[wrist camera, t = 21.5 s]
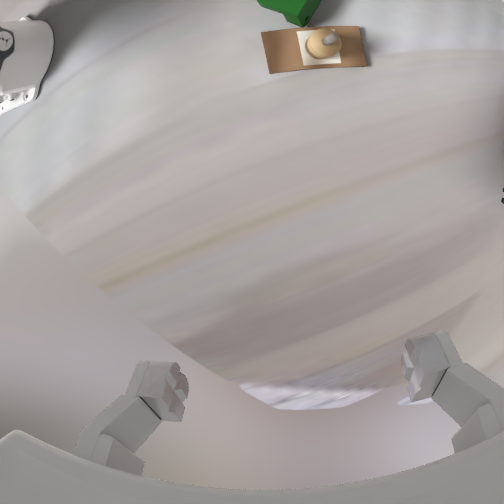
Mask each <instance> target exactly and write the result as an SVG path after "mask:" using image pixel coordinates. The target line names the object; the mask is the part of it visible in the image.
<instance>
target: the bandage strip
mask: <svg viewBox="0 0 504 504" xmlns="http://www.w3.org/2000/svg"><path fill="white" fill-rule="evenodd" d="M321 28H327V29H331V30H333V31H335V32H336V33H337V34H338V35H339V37H340V39H341V42H342V46H341V49H340V51H339V52H338V53H337V54H335V55H333V56H330V57H328V58H325V59H315V58H313V57H311V56H310V55H309V54H308V53H307V51H306V49H305V42H306V40H307V39H308V38H309V37H310V36H311V34H312V33H313V32H314V31H316V30H318V29H321ZM261 35H262V40H263V44H264V49H265V54H266V58H267V63H268V68H269V73H270V74H273V73H280V72H288V71H297V70H307V69H319V68H335V67H365V66H366V60H365V54H364V49H363V44H362V39H361V34H360V30H359V26H323V27H306V28H294V29H284V30H276V31H268V32H261Z"/></svg>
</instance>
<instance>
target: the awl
mask: <svg viewBox="0 0 504 504" xmlns="http://www.w3.org/2000/svg"><path fill="white" fill-rule="evenodd" d="M341 46H342V42H341V39H340V37H339V35H338V34H337V33H336V32H335V31H333V30H331V29H327V28H321V29H318V30H316V31H314V32H313V33H312V34H311V36H310V37H309V38H308V39H307V40H306V42H305V49H306V51H307V53H308V54H309V55H310V56H311V57H313V58H315V59H325V58H328V57H330V56H333V55H335V54H337V53H338V52H339V51H340V49H341Z"/></svg>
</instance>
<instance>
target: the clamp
mask: <svg viewBox="0 0 504 504" xmlns="http://www.w3.org/2000/svg"><path fill="white" fill-rule="evenodd" d="M257 1H258V3H259V4H260V5H261V6H262V7H264V8H267V9H271V10H274V11H276V12H279V13H282V14H284V16H285V18H286V20H287V22H290V23H292V24H295V25H298V26H300V27H302V28H303V27H305V26H306V24H307V23H308V21H309V20H310V18H311V16H312V15H313V13H314V12H315V10H316V8H317V7H318V5H319V4H320V2H321V0H257Z"/></svg>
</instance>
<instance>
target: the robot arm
mask: <svg viewBox="0 0 504 504" xmlns="http://www.w3.org/2000/svg"><path fill="white" fill-rule="evenodd" d="M53 45H54V39H53V33H52V30H51V28H50V26H49V25H48V24H47V23H46V22H44V21H41V20H36V21H33V20H31V19H30V18H29V17H22V18H21V19H20V20H19V21H7V22H0V115H2V114H4V113H6V112H8V111H10V110H12V109H15V108H17V107H19V106H22V105H24V104H27V103H29V102H31V101H34V100H35V99H36V97H37V95H38V91H39V87H40V83H41V80H42V78H43V76H44V75H45V73H46V71H47V69H48V66H49V64H50V61H51V57H52V53H53ZM405 347H406V351H405V352H404V353H403V354H402V358H401V369H402V374H403V377H404V378H405V379H406V380H408V381H409V383H408V386H407V390H408V393H409V397H410V400H411V402H415V401H419V400H423V399H426V398H430V397H432V399H433V400H434V401H435V402H436V403H437V404H438V405H439V406H440V407H441V408H442V409H443V410H444V411H445V412H446V413H448V414H449V415H450V416H451V417H452V418H453V419H454V420H455V421H456V422H457V423H458V424H459V425H460V426H461V428H460V429H459V431H458V432H457V433H456V434H455V435H454V436H453V438H452V443H453V447H454V451H455V454H453V455H451V456H448V457H445V458H443V459H440V460H437V461H434V462H432V463H429V464H426V465H422V466H420V467H416V468H413V469H409V470H406V471H402V472H399V473H395V474H391V475H387V476H383V477H379V478H374V479H369V480H364V481H359V482H353V483H347V484H340V485H333V486H325V487H316V488H305V489H287V490H240V489H223V488H212V487H202V486H194V485H186V484H180V483H174V482H168V481H163V480H158V479H153V478H149V477H144V476H142V471H143V467H144V463H145V462H144V461H143V459H142V458H140V457H138V456H137V455H136V454H134V453H135V452H136V451H137V449H138V448H139V447H140V446H141V445H142V444H143V443H144V442H145V440H146V439H147V438H148V437H149V436H150V435H151V434H152V433H153V431H154V430H155V429H156V428H157V427H158V426H159V424H160V423H161V422H162V421H175V422H182V418H183V414H184V409H185V407H184V405H183V403H182V402H183V401H184V400H185V399H186V398H187V396H188V391H189V390H188V388H189V387H188V381H187V378H186V376H185V375H184V374H182V373H181V372H179V371H180V367H179V365H178V364H177V363H172V362H151V361H140V362H138V363H137V365H136V367H135V370H134V372H133V375H132V378H131V380H130V382H129V385H128V388H127V390H126V393H125V395H121V396H120V397H119V398H117V399H116V400H115V401H114V402H113V403H112V404H111V405H109V406H108V407H107V408H106V409H104V410H103V411H102V412H101V413H100V414H98V415H97V416H96V417H95V418H94V419H92V420H91V421H90V422H89V423H88V424H87V425H86V426H84V427H83V429H82V431H81V434H80V436H79V439H78V442H77V444H76V448H75V450H74V453H73V454H70V453H67V452H65V451H63V450H60V449H58V448H56V447H53V446H51V445H49V444H47V443H45V442H42V441H40V440H38V439H36V438H34V437H32V436H30V435H28V434H26V433H25V432H22V431H20V430H14V431H12V432H10V433H9V434H7V435H6V436H4V437H3V438H1V439H0V504H504V388H502V387H501V386H500V385H498V384H497V383H495V382H494V381H492V380H491V379H489V378H488V377H486V376H485V375H484V374H482V373H481V372H479V371H478V370H476V369H475V368H473V367H472V366H470V365H469V364H467V363H464V364H463V362H462V360H461V358H460V356H459V354H458V352H457V350H456V348H455V346H454V344H453V342H452V340H451V338H450V336H449V334H448V332H447V331H446V330H442V331H438V332H434V333H429V334H425V335H421V336H417V337H413V338H409V339H408V340H407V341H406V344H405ZM161 420H162V421H161Z"/></svg>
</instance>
